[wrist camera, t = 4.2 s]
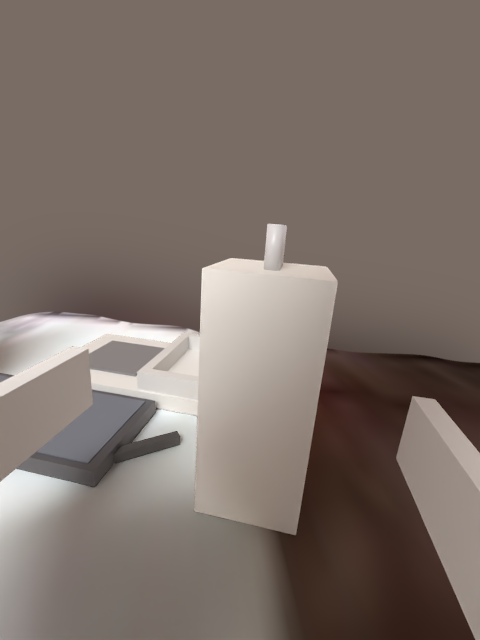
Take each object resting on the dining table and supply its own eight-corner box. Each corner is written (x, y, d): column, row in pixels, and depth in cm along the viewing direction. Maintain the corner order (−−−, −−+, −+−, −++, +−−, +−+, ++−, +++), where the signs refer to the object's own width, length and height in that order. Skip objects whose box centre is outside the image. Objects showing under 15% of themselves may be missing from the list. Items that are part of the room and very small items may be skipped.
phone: (-4, 383, 25) (-6, 371, 24) (155, 412, 22) (155, 399, 22) (-114, 437, 18) (-119, 422, 18) (94, 487, 16) (93, 470, 16)
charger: (297, 457, 19) (332, 229, 15) (295, 535, 14) (346, 228, 10) (220, 443, 20) (234, 222, 16) (194, 511, 15) (203, 218, 11)
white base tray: (284, 369, 31) (287, 345, 30) (276, 430, 21) (280, 396, 21) (107, 343, 34) (106, 321, 33) (33, 385, 25) (29, 355, 24)
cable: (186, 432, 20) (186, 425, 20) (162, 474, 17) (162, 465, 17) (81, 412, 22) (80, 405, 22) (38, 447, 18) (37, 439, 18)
